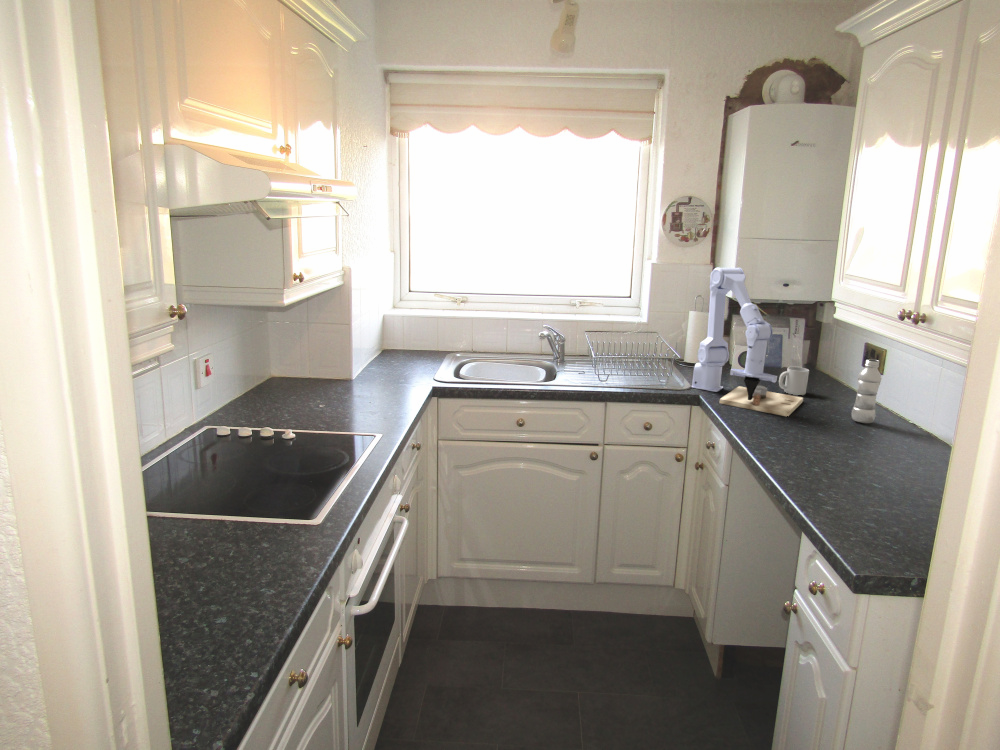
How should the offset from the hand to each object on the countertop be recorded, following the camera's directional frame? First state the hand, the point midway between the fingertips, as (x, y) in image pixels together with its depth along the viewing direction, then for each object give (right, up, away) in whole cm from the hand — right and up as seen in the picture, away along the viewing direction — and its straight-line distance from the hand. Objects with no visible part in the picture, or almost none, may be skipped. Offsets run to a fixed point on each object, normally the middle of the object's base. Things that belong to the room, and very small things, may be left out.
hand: (749, 399), depth 227 cm
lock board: (+6, -1, +6) cm, 9 cm away
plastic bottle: (+31, -7, -12) cm, 34 cm away
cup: (+22, +1, +20) cm, 30 cm away
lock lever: (+3, 0, +3) cm, 5 cm away
